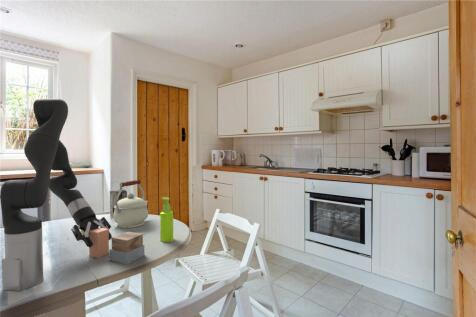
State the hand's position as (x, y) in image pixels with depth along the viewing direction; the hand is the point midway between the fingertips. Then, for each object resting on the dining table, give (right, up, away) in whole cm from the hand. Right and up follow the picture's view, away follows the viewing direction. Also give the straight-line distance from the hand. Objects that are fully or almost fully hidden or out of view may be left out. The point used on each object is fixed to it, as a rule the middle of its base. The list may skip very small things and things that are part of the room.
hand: (101, 242), depth 104 cm
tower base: (+12, -5, -3) cm, 13 cm away
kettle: (-5, -4, +44) cm, 44 cm away
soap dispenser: (+22, -5, +17) cm, 28 cm away
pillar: (-1, -5, +1) cm, 5 cm away
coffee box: (-21, -3, +61) cm, 65 cm away
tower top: (+12, -1, -3) cm, 12 cm away
